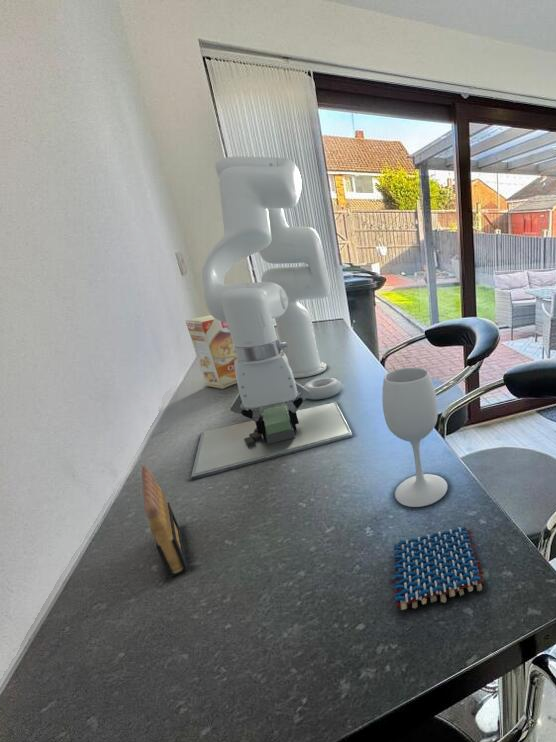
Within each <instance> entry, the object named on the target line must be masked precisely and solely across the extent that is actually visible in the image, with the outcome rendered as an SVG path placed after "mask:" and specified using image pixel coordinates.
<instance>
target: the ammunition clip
mask: <svg viewBox="0 0 556 742" xmlns="http://www.w3.org/2000/svg"><path fill="white" fill-rule="evenodd" d="M141 481H142V492H143V505H144V506H143V507H144V511H145V514H146V516H147V520H148V522H149V527H150V532H151V533H152V536H153V538H154V540H155V544H156V545H155V546H156V549H157V552H158V553H159V556H160V559H161V560H162V563H163V565H164V567H165V569H166V571H167V574H168V576H169V578H173V577H175V576H177V575H179V574H181V573H183V572H186V571H188V570H189V569H188V563H187V559H186V553H185V548H184V547H185V546H184V544H183V537H182V532H181V529H180V526H179V523H178V521H177V519H176V517H175V514H174V512H173V508H172V506H171V505H170V504H171V503H170V502H168V501H167V498H166V497H165V494H164V492H163V489H162V488H161V487H160V486H159V483H158V482H157V481H156V478H155V476H154V475H153V473H152V471H151V470H150V469H148V467H146V466H145V465H143V466H142V468H141Z"/></svg>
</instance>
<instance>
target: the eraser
mask: <svg viewBox="0 0 556 742" xmlns="http://www.w3.org/2000/svg"><path fill="white" fill-rule="evenodd" d="M262 411H263V418H264V423H265V432H266V439H267V442H268V444H271V443H275V442H278V441H282V440H286V439H290V438H294V437H295V435H294V431H293V427H292V423H291V420H290V416H289V413H288V409H287V405H286V404H282V405H279V406H273V407H269V408H263V410H262Z"/></svg>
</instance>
